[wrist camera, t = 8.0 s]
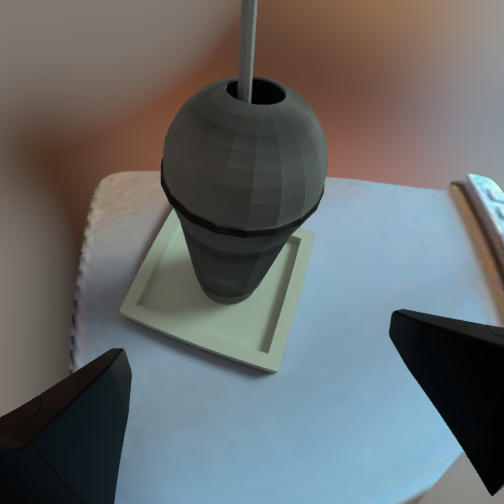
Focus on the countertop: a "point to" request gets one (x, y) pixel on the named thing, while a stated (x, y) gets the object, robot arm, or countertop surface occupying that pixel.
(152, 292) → the tray
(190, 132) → the beverage cup
